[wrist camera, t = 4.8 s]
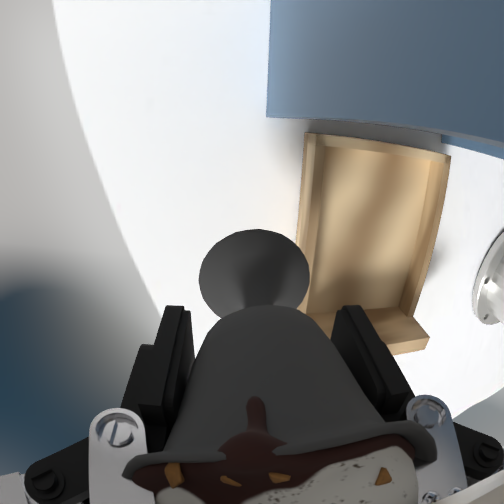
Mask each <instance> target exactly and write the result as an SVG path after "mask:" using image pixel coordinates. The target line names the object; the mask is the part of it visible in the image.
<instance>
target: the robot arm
mask: <svg viewBox="0 0 504 504" xmlns="http://www.w3.org/2000/svg"><path fill="white" fill-rule="evenodd" d="M472 307H473V311H474V314H475V315H476V317H477V318H478V319H479V320H480V321H481V322H482V323H484V324H486V325H492V324H496V323H498V322H501V323H502V324H503V325H504V232H503V233H502V234H501V235H500V236H499V237H498V238H497V240H496V241H495V243H494V244H493V246H492V247H491V248H490V250H489V252H488V254H487V255H486V257H485V259H484V261H483V263H482V266H481V268H480V270H479V273H478V276H477V278H476V282H475V286H474V290H473V298H472ZM330 340H331V341H332V343H333V344H334V345H335V347H336V348H337V350H338V352H339V353H340V355H341V356H342V358H343V360H344V361H345V363H346V365H347V366H348V368H349V370H350V371H351V373H352V374H353V376H354V378H355V379H356V381H357V383H358V384H359V386H360V388H361V389H362V391H363V393H364V394H365V396H366V397H367V398H368V400H369V401H370V402H371V404H372V405H373V406H374V408H375V409H376V410H377V412H378V413H379V414H380V416H381V417H382V418H383V420H384V421H385V423H387V422H396V421H405V420H412V421H414V422H417V423H419V424H421V425H422V426H423V427H424V428H425V429H426V430H427V431H428V432H429V433H430V434H431V435H432V437H433V438H434V439H435V443H436V447H437V451H438V452H437V460H436V461H424V460H421V459H419V458H417V457H415V458H414V460H413V464H414V468H415V472H416V476H417V480H418V486H419V487H418V503H417V504H504V446H503V447H502V446H501V445H500V443H499V442H498V441H497V440H496V439H494V438H493V437H490V436H488V435H485V434H483V433H480V432H477V431H475V430H472V429H470V428H467V427H465V426H462V425H460V424H457V423H455V422H453V421H452V417H451V414H450V411H449V409H448V407H447V405H446V404H445V403H444V402H443V401H441V400H440V399H438V398H437V397H434V396H431V395H419V396H416V397H415V395H414V393H413V392H412V390H411V388H410V386H409V384H408V382H407V381H406V379H405V377H404V375H403V373H402V372H401V370H400V368H399V366H398V364H397V363H396V361H395V359H394V357H393V356H392V354H391V352H390V350H389V349H388V347H387V345H386V344H385V343H384V342H383V341H382V340H381V339H380V337H379V335H378V334H377V332H376V330H375V328H374V327H373V325H372V323H371V322H370V320H369V318H368V317H367V315H366V313H365V312H364V310H363V308H362V307H361V306H360V305H344V306H343V307H342V309H341V310H337V312H336V316H335V321H334V325H333V330H332V334H331V338H330ZM194 361H195V355H194V345H193V334H192V323H191V312H190V311H185V309H184V306H170V305H167V306H166V307H165V310H164V313H163V317H162V320H161V323H160V326H159V329H158V333H157V337H156V339H155V343H154V345H148V344H142V345H141V346H140V348H139V351H138V354H137V357H136V360H135V363H134V366H133V369H132V372H131V375H130V378H129V381H128V384H127V387H126V391H125V394H124V397H123V400H122V404H121V407H120V408H114V409H108V410H106V411H104V412H101V413H100V414H99V415H97V416H96V417H95V418H94V420H93V421H92V423H91V426H90V430H89V437H87V438H85V439H83V440H81V441H79V442H77V443H75V444H73V445H71V446H69V447H67V448H65V449H63V450H61V451H59V452H56V453H54V454H52V455H50V456H48V457H46V458H44V459H41V460H39V461H37V462H35V463H34V464H32V465H31V466H30V467H29V468H28V469H27V471H26V473H25V474H22V475H21V474H20V473H19V472H16V473H12V474H7V475H3V476H0V504H157V503H156V500H155V496H154V493H153V492H151V491H148V490H146V489H143V488H141V487H139V486H138V485H136V484H135V483H134V482H133V481H132V478H123V477H122V476H121V475H122V473H123V470H124V468H125V466H126V464H127V463H128V462H129V461H130V460H131V459H132V458H134V457H135V456H136V455H142V454H148V453H155V452H162V451H163V450H164V447H165V445H166V442H167V440H168V437H169V435H170V433H171V430H172V428H173V425H174V423H175V422H176V419H177V415H178V411H179V407H180V404H181V401H182V398H183V394H184V391H185V388H186V385H187V381H188V378H189V375H190V372H191V369H192V365H193V363H194Z"/></svg>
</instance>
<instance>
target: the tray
mask: <svg viewBox="0 0 504 504" xmlns="http://www.w3.org/2000/svg"><path fill="white" fill-rule="evenodd" d="M450 162H451V156H449V155H446V154H442V153H438V152H435V151H431V150H426V149H421V148H416V147H411V146H405V145H400V144H394V143H388V142H382V141H375V140H368V139H361V138H354V137H346V136H337V135H328V134H318V133H307V132H305V135H304V150H303V164H302V177H301V190H300V202H299V213H298V224H297V235H296V245H297V246H298V247H299V248H300V249H301V251H302V252H303V254H304V255H305V257H306V260H307V262H308V264H309V271H310V284H309V287H308V290H307V293H306V295H305V297H304V299H303V301H302V303H301V304H300V305H299V306H298V308H297V309H298V310H300V311H301V312H303V313H304V314H306V315H307V316H309V317H311V318H312V319H313V320H314V321H315V322H316V323H317V324H318V326H319V327H320V328H321V329H322V330H323V332H324V333H325V334H326V335H327V337H328V338H329V339H330V338H331V334H332V330H333V325H334V321H335V316H336V312H337V310H341V309H342V307H343V306H344V305H360V306H361V307H362V308H363V310H364V312H365V313H366V315H367V317H368V318H369V320H370V322H371V323H372V325H373V327H374V328H375V330H376V332H377V334H378V335H379V337H380V339H381V340H382V341H383V342H384V343H385V344H386V345H387V347H388V349H389V350H390V352H391V354H392V356H393V355H399V354H404V353H409V352H414V351H419V350H424V349H425V347H426V345H427V343H428V340H429V338H430V337H429V336H428V334H427V333H426V332H425V331H424V329H423V328H422V327H421V326H420V325H419V323H418V322H417V321H416V320H415V318H414V317H413V315H414V312H415V309H416V306H417V303H418V300H419V297H420V294H421V291H422V287H423V284H424V281H425V278H426V274H427V271H428V267H429V264H430V260H431V256H432V252H433V249H434V245H435V241H436V237H437V232H438V228H439V224H440V219H441V214H442V209H443V204H444V199H445V194H446V188H447V182H448V176H449V169H450Z"/></svg>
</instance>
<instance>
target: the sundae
mask: <svg viewBox="0 0 504 504" xmlns="http://www.w3.org/2000/svg"><path fill="white" fill-rule="evenodd" d="M309 284H310V271H309V264H308V262H307V260H306V257H305V255H304V254H303V252H302V251H301V249H300V248H299V247H298V246H297V245H296V244H295V243H294V242H293V241H291V240H290V239H288V238H287V237H285V236H284V235H282V234H279V233H276V232H273V231H268V230H262V229H253V230H245V231H240V232H235V233H233V234H231V235H229V236H227V237H225V238H224V239H222V240H221V241H219V242H218V243H216V244H215V245H214V246H213V247H212V249H211V250H210V251H209V252H208V254H207V255H206V257H205V258H204V260H203V262H202V265H201V269H200V274H199V285H200V290H201V294H202V297H203V299H204V301H205V302H206V304H207V305H208V306H209V308H210V309H211V310H212V311H213V312H214V313H215V314H216V315H217V316H219V317H220V318H222V319H220V320H219V321H218V322H217V323H216V324H215V325H214V326H213V327H212V328H211V330H210V331H209V332H208V333H207V335H206V337H205V339H204V341H203V344H202V346H201V348H200V350H199V352H198V354H197V356H196V359H195V361H194V363H193V365H192V369H191V372H190V375H189V378H188V381H187V385H186V388H185V391H184V394H183V398H182V401H181V404H180V407H179V411H178V415H177V419H176V422H175V423H174V425H173V428H172V430H171V433H170V435H169V437H168V440H167V442H166V445H165V447H164V450H163V451H162V452H155V453H148V454H142V455H136V456H135V457H134V458H132V459H131V460H130V461H129V462H128V463H127V464H126V466H125V468H124V470H123V473H122V475H121V476H122V477H123V478H132V481H133V482H134V483H135V484H136V485H138V486H139V487H141V488H143V489H146V490H148V491H151V492H153V493H154V496H155V500H156V503H157V504H417V503H418V487H419V486H418V480H417V476H416V472H415V468H414V464H413V460H414V458H415V457H417V458H419V459H421V460H424V461H436V460H437V452H438V451H437V447H436V443H435V439H434V438H433V437H432V435H431V434H430V433H429V432H428V431H427V430H426V429H425V428H424V427H423V426H422V425H421V424H419V423H417V422H414V421H412V420H405V421H396V422H387V423H385V421H384V420H383V418H382V417H381V416H380V414H379V413H378V412H377V410H376V409H375V408H374V406H373V405H372V404H371V402H370V401H369V400H368V398H367V397H366V396H365V394H364V393H363V391H362V389H361V388H360V386H359V384H358V383H357V381H356V379H355V378H354V376H353V374H352V373H351V371H350V370H349V368H348V366H347V365H346V363H345V361H344V360H343V358H342V356H341V355H340V353H339V352H338V350H337V348H336V347H335V345H334V344H333V343H332V341H331V340H330V339H329V338H328V337H327V335H326V334H325V333H324V332H323V330H322V329H321V328H320V327H319V326H318V324H317V323H316V322H315V321H314V320H313V319H312V318H311V317H309V316H307V315H306V314H304V313H303V312H301V311H300V310H298V309H297V308H298V306H299V305H300V304H301V303H302V301H303V299H304V297H305V295H306V293H307V290H308V287H309Z"/></svg>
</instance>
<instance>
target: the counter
mask: <svg viewBox="0 0 504 504" xmlns="http://www.w3.org/2000/svg"><path fill="white" fill-rule="evenodd" d="M266 117H273V118H293V119H318V120H335V121H348V122H359V123H369V124H378V125H387V126H394V127H402V128H408V129H415V130H421V131H427V132H433V133H438V134H442V141H441V142H442V143H446V144H450V145H453V146H458V147H462V148H465V149H469V150H473V151H477V152H480V153H484V154H487V155H491V156H494V157H497V158H501V159H504V0H271V12H270V38H269V63H268V87H267V110H266Z"/></svg>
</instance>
